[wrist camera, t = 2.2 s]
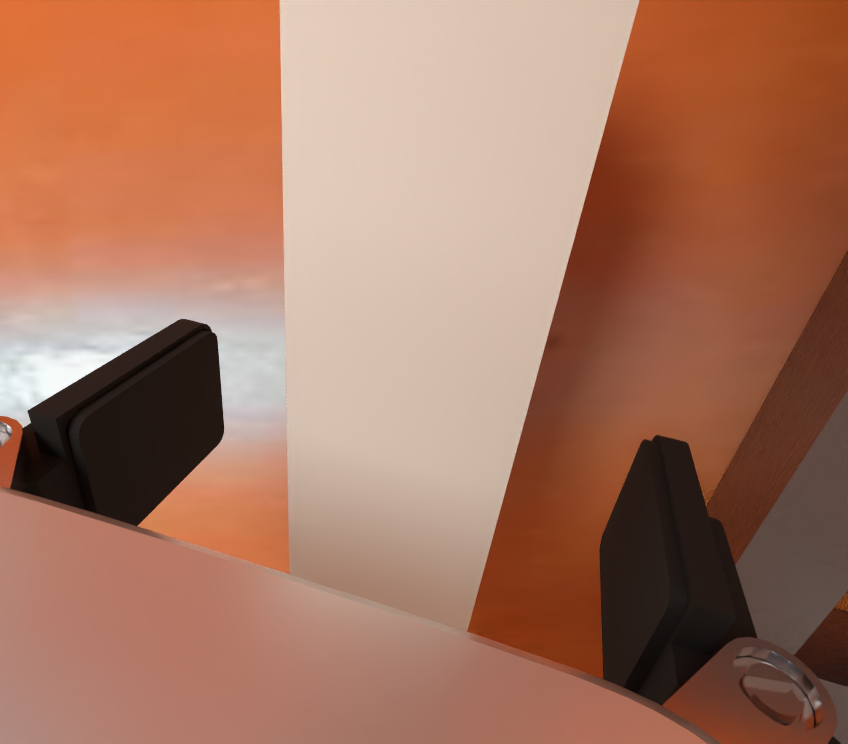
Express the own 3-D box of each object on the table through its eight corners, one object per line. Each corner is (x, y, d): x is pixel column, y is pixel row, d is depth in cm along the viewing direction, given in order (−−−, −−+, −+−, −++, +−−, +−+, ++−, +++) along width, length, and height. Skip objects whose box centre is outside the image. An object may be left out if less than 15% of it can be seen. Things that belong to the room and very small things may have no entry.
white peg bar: (438, -85, 12) (276, -240, 6) (638, -65, 11) (698, -214, 5) (377, 495, 22) (291, 674, 15) (485, 526, 21) (441, 726, 15)
